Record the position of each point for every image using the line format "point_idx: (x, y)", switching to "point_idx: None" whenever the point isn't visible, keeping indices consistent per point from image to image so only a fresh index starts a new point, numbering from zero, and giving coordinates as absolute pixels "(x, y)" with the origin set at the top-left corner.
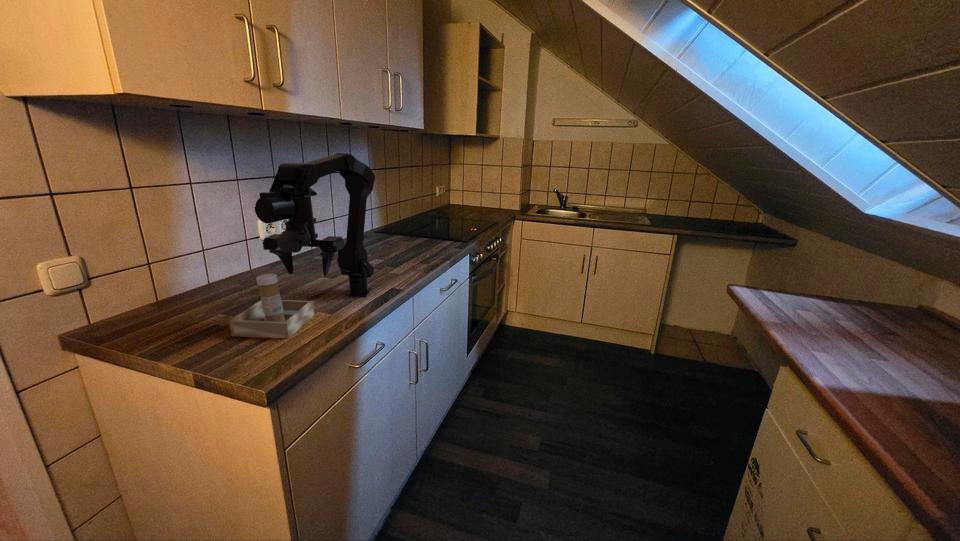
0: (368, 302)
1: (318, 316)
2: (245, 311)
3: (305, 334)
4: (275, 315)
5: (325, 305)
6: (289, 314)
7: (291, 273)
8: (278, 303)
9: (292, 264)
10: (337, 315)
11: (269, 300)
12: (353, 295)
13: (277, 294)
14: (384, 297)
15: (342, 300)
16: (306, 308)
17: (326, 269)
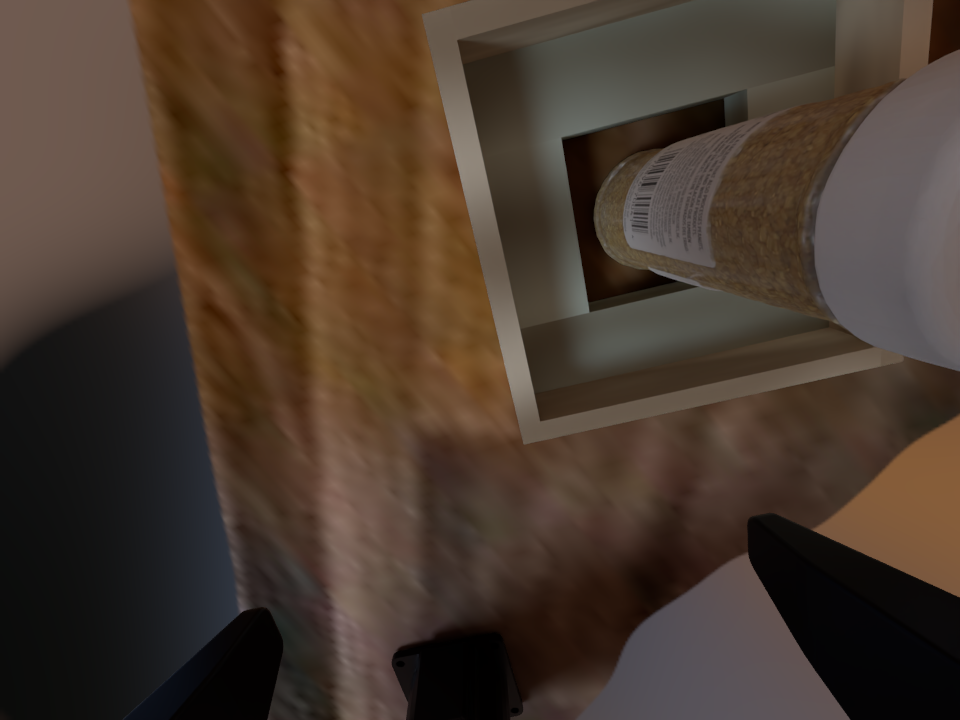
0: (336, 605)
1: (473, 386)
2: None
3: (377, 150)
4: (642, 167)
5: (531, 512)
6: (617, 305)
7: (752, 533)
8: (662, 203)
9: (853, 710)
10: (380, 429)
11: (738, 127)
12: (457, 643)
13: (711, 218)
14: (302, 672)
15: (483, 586)
16: (500, 345)
17: (137, 712)
